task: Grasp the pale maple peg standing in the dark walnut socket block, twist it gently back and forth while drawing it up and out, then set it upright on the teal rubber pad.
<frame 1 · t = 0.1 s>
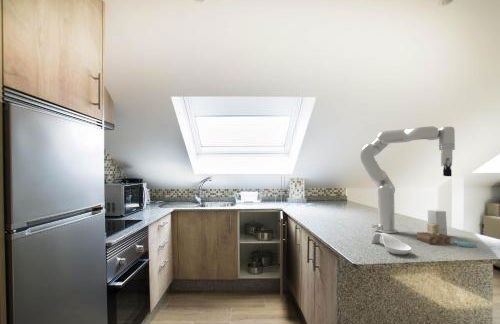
hand: (447, 176, 156), 37 cm above the worktop, tool pointing down, fingers open, 9 cm apart
maple peg: (433, 232, 149), in the walnut socket block
skincare box: (437, 235, 163), on the worktop
walnut socket block: (433, 241, 148), on the worktop
teal rubber pad: (464, 245, 142), on the worktop
spoon rest: (389, 250, 134), on the worktop
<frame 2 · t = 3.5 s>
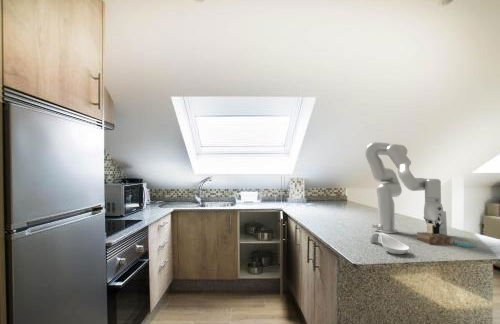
hand: (433, 232, 149), 5 cm above the worktop, tool pointing down, fingers closed on maple peg, 4 cm apart
maple peg: (432, 232, 149), in the walnut socket block, touching gripper
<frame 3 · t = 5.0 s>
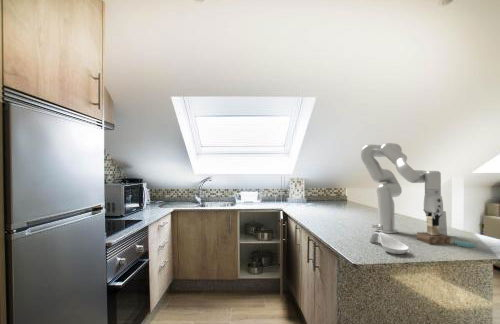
hand: (432, 224, 149), 10 cm above the worktop, tool pointing down, fingers closed on maple peg, 4 cm apart
maple peg: (432, 225, 149), point 9 cm above the worktop, touching gripper
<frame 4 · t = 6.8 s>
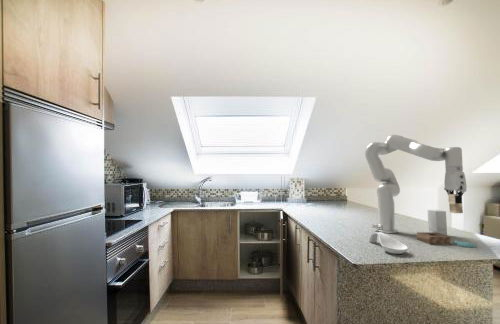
hand: (455, 202, 144), 23 cm above the worktop, tool pointing down, fingers closed on maple peg, 4 cm apart
maple peg: (455, 203, 144), point 22 cm above the worktop, touching gripper
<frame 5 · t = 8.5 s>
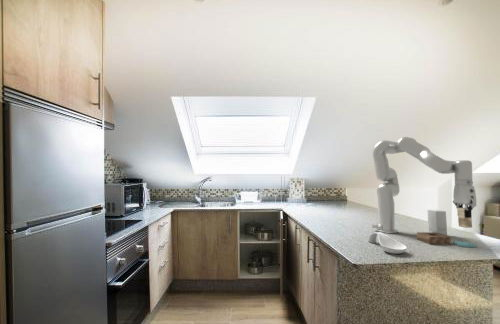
hand: (464, 216, 142), 16 cm above the worktop, tool pointing down, fingers closed on maple peg, 4 cm apart
maple peg: (464, 217, 142), point 15 cm above the worktop, touching gripper
when the fingers open (8 cm above the worktop, at t = 10.2 s): maple peg drops 1 cm, resting on teal rubber pad.
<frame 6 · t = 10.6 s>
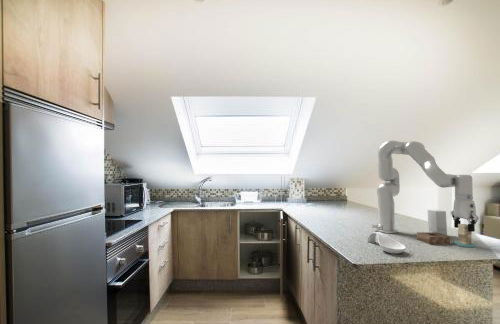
hand: (464, 229, 142), 9 cm above the worktop, tool pointing down, fingers open, 8 cm apart
maple peg: (464, 234, 142), on the teal rubber pad, point 6 cm above the worktop
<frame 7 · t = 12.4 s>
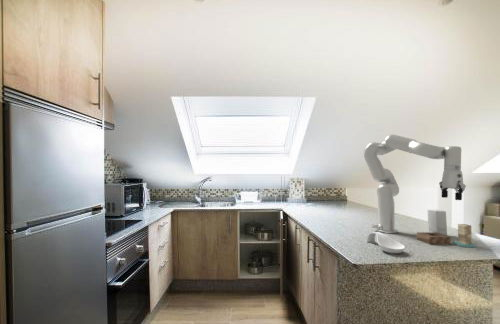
hand: (451, 198, 147), 25 cm above the worktop, tool pointing down, fingers open, 9 cm apart
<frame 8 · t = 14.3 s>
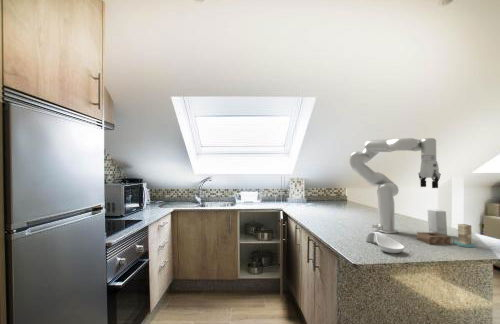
hand: (429, 187, 156), 30 cm above the worktop, tool pointing down, fingers open, 9 cm apart
at the end: maple peg inside the target area on the teal rubber pad (0.3 cm from its centre), point 6.0 cm above the teal rubber pad's base; maple peg tilted 0°; the gripper is holding nothing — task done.
